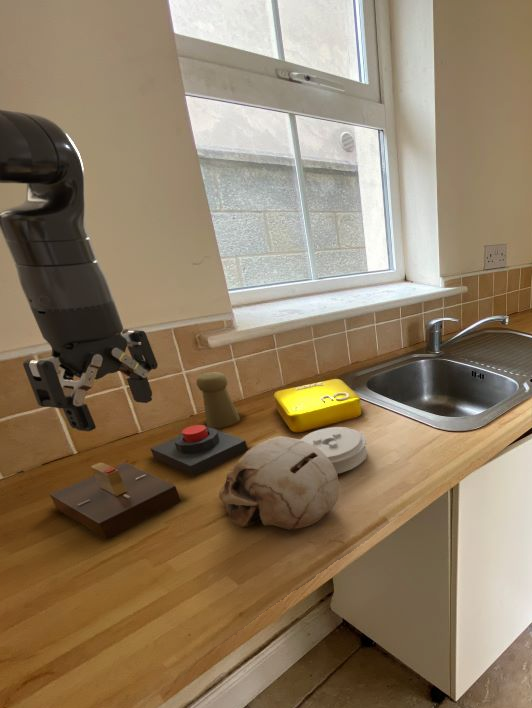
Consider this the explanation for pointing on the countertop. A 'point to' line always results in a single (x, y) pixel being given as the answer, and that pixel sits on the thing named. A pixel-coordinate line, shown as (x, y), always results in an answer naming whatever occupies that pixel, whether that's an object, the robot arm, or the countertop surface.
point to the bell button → (194, 433)
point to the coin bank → (280, 485)
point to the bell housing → (199, 451)
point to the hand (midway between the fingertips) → (116, 414)
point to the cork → (217, 400)
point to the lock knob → (108, 479)
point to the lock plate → (116, 501)
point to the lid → (339, 446)
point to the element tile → (317, 405)
